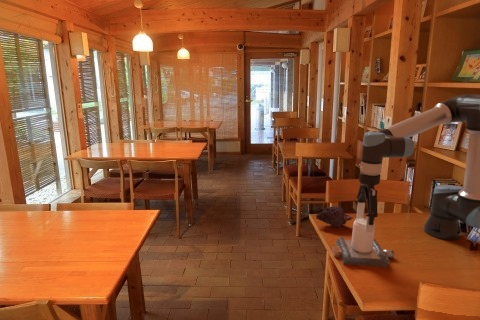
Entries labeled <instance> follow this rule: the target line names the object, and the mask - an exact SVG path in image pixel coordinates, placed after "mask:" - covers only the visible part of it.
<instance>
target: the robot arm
mask: <svg viewBox="0 0 480 320" xmlns="http://www.w3.org/2000/svg"><path fill="white" fill-rule="evenodd" d="M451 123H465V130H466V131H467V133H468V134H469V137H468V144H467V152H466V162H465V169H464V180H463V186H458V185H453V184H452V185H451V184H440V185H436V186H435V187H434V189H433V194H432V198H431V199H432V200H431V206H430V213H429V216H428V217H427V219H426V221H425V223H424V224H423V231H424V233H426V234H428V235H429V236H432V237H434V238H437V239H440V240H441V239H442V240H445V241H446V240H448V241H449V240H450V241H456V240H459V239H461V236H462V229H461V225H460V222H461V223H464V224H466V225H468V226H470V227H473V228H475V229H480V94H473V93H466V94H460V95H457V96H453V97H451V98H448V99H446V100H443V101H440V102H439V103H437V104H435V105H434V107H433V108H431V109H428V110H426V111H423V112H421V113H419V114H416V115H413V116H411V117H409V118H407V119H404V120H402V121H400V122H397V123H395V124H392V125H390V126H388V127H385V128H383V129H380V130H378V131H377V130H370V131H366V132H365V133H364V134H363V139H362V143H361V144H362V149H361V159H360V163H359V164H358V166H359V167H360V169H359V171H360V172H359V174H358V175H359V177H358V181H359V182H358V183H360V185H359V187H358V192H357V194H356V195H357V196H356V199H357V208H356V218H367V220H366V229H365V232H371V233H373V229H374V224H375V219H376V218H378V215H379V214H378V189H376V188H375V186H378V185H379V184H380V183H381V176H382V175H381V174H382V169H383V160H384V158H385V159H386V158H408V157H410V156H412V155H413V153H414V152H415V143H414V141H413V138H412V137H413V136H416V135H419V134H421V133H424V132H425V131H429V130H431V129H433V128H436V127H438V126H441V125H445V126H447V125H449V124H451ZM366 206H367V214H366V215H365V209H366V208H365V207H366Z"/></svg>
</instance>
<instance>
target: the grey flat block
mask: <svg viewBox="0 0 480 320" xmlns="http://www.w3.org/2000/svg"><path fill="white" fill-rule="evenodd" d="M351 242H352V239H344V236H342V235H340V236H339V239H338V238H336V239H335V245H332V247H331V248H332V249H331V251H332V255H333V257H334V258H340V260H341V263H342V265H352V266H364V267H378V268H380V267H382V268H389V265H390V259H394V258H395V251H394V250H393V249H383V247H381V245H380V244H379V241H377V239H376V238H375V237H374V240H373V248H372V251H370V252H366V253H363V252H358V251H356V250H354V249H353V248H352V247H351Z"/></svg>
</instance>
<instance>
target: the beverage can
mask: <svg viewBox="0 0 480 320" xmlns="http://www.w3.org/2000/svg"><path fill="white" fill-rule="evenodd" d="M366 220H367V217H364V218H357V217H356V218H355V220H354V221H353V224H352V234H351V240H352V242H351V247H352V248H353V249H354V250H356V251H358V252H363V253H366V252H370V251H372V248H373V240H374V238H375V232H376V231H375V230H376V224H375V223H374V229H373V233H371V232H365V229H366Z"/></svg>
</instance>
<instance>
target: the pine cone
mask: <svg viewBox="0 0 480 320" xmlns="http://www.w3.org/2000/svg"><path fill="white" fill-rule="evenodd" d="M315 219H316V220H319V221H320V222H323V223H325V224H329V225H331V226H332V227H335V228H340V227H343V226H345V225H346V224H347V222H348V221H351V220H352V219H354V217H353V216H350V215H348V214H346V213H345V211H344V209H343V207H340V206H337V205H333V206H328V207H326V208H324V210H321V212H318V213H317V214H316V215H315Z"/></svg>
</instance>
